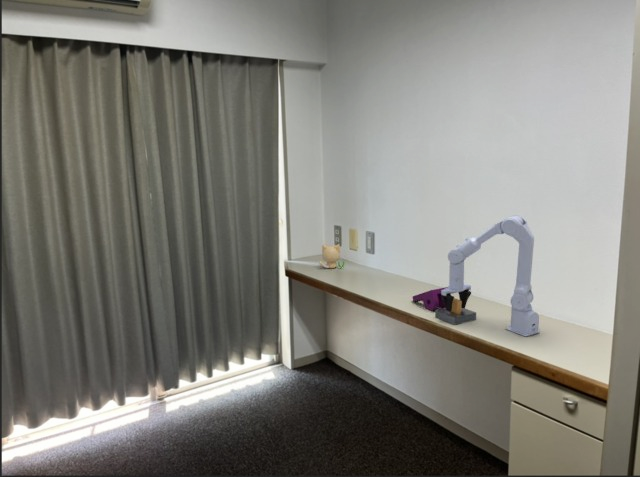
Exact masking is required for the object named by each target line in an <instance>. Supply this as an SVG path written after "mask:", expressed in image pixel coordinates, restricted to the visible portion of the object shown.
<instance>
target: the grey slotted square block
mask: <svg viewBox="0 0 640 477" xmlns="http://www.w3.org/2000/svg"><path fill="white" fill-rule="evenodd" d="M434 312H435V313H434V314H435V315H434V317H435V318H436V319H438V320H441V321H444V322H446V323H448V324H450V325H453V326H457V325H460V324H463V323H468V322H471V321H476V320H477V312H476V311H472V310H471V309H467V308H466V307H465V308H461V313H460V314H455V313H453V312H449V311H447V310H446V308H440V309H439V308H438V309H436V310H434Z"/></svg>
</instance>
